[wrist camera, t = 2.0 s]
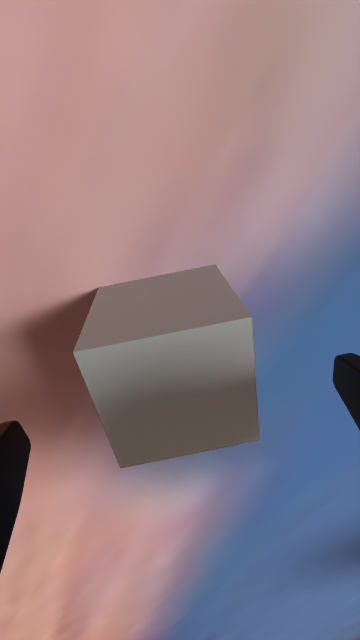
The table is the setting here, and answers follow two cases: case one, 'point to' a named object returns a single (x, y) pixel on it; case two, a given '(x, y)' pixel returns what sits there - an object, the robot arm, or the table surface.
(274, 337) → the table surface
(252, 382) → the cube
